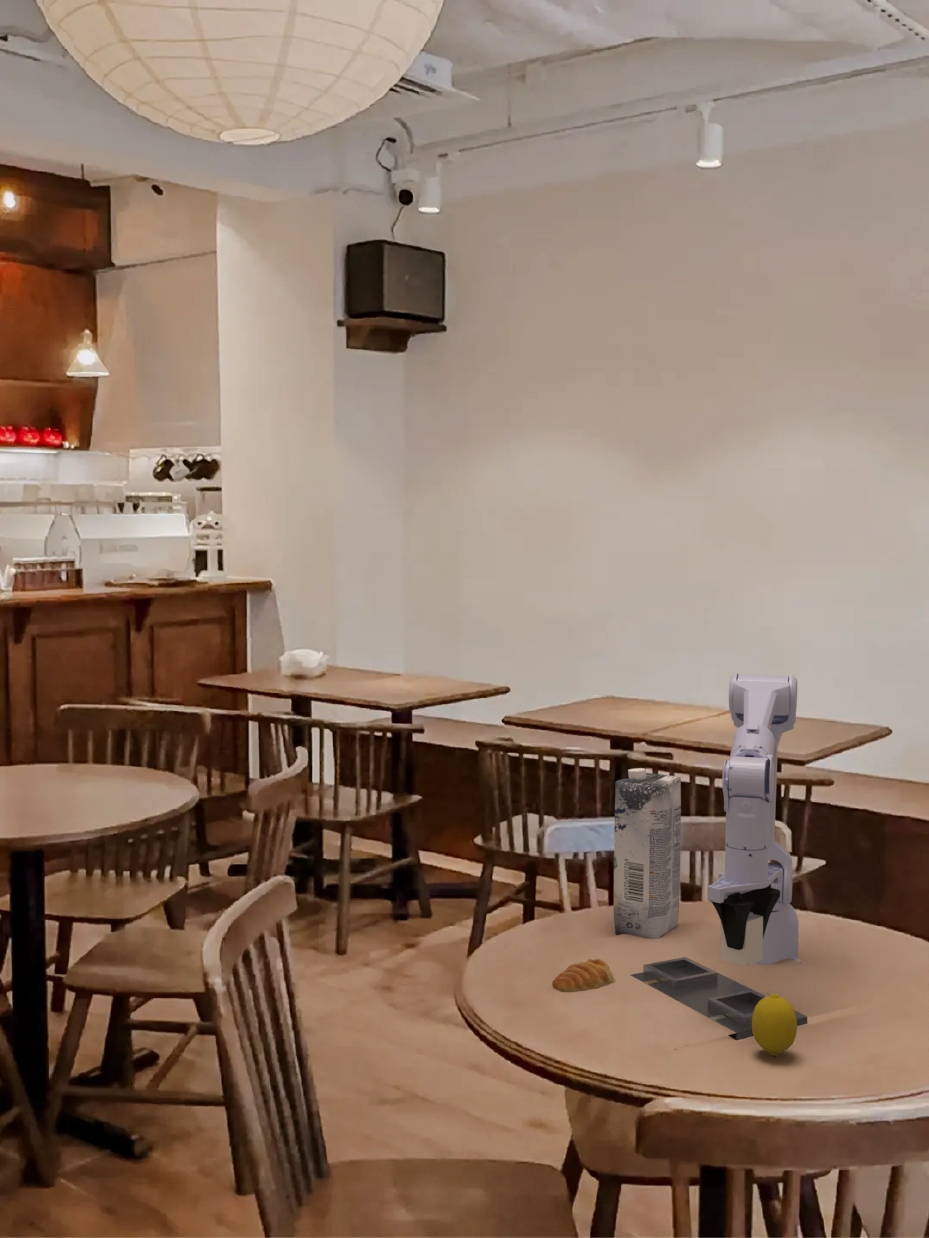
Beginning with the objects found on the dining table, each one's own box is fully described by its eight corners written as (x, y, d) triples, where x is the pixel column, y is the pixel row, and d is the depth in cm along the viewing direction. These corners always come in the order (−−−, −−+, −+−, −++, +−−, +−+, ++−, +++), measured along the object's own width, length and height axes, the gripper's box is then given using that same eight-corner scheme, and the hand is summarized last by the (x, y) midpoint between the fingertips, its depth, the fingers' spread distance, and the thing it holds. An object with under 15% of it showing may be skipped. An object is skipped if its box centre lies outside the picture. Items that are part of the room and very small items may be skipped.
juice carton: (684, 929, 213) (686, 767, 211) (658, 947, 205) (660, 778, 202) (634, 920, 218) (636, 762, 216) (607, 937, 209) (609, 772, 207)
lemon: (745, 1047, 166) (746, 986, 165) (787, 1046, 166) (789, 985, 166) (759, 1065, 160) (760, 1002, 160) (802, 1063, 161) (804, 1001, 160)
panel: (696, 968, 195) (696, 954, 195) (807, 1023, 174) (807, 1007, 174) (630, 981, 189) (630, 966, 189) (736, 1039, 168) (736, 1023, 168)
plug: (737, 952, 179) (738, 904, 178) (762, 959, 176) (763, 911, 175) (720, 959, 176) (721, 910, 175) (745, 966, 173) (745, 917, 172)
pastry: (574, 1005, 181) (574, 978, 180) (540, 992, 186) (540, 966, 185) (619, 989, 187) (619, 963, 187) (584, 977, 192) (584, 951, 192)
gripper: (753, 831, 182) (751, 926, 183) (689, 848, 172) (687, 948, 173) (796, 840, 177) (794, 937, 178) (733, 858, 167) (731, 961, 168)
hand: (744, 944), depth 175 cm, fingers closed on plug, 4 cm apart
